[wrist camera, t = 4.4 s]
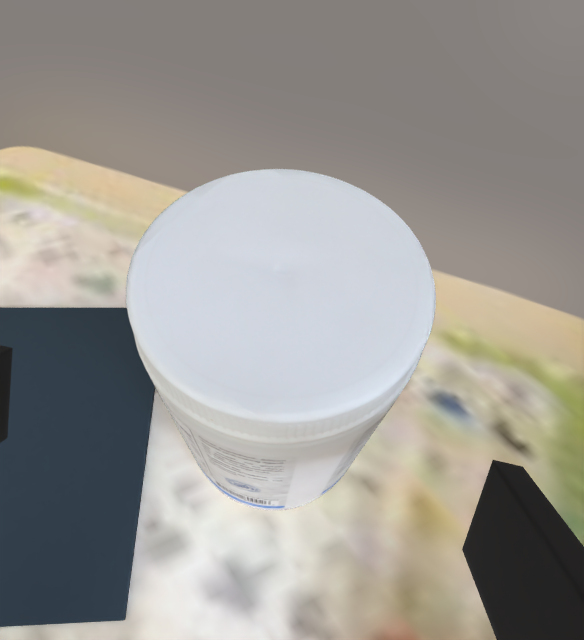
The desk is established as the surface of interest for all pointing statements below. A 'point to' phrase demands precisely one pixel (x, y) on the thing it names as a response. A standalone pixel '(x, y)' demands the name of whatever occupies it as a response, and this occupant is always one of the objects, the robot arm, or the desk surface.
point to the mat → (71, 464)
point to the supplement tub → (279, 326)
